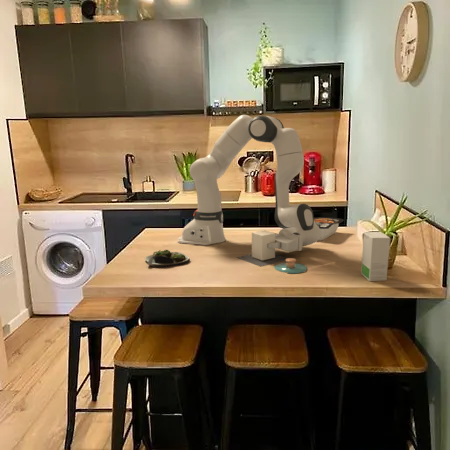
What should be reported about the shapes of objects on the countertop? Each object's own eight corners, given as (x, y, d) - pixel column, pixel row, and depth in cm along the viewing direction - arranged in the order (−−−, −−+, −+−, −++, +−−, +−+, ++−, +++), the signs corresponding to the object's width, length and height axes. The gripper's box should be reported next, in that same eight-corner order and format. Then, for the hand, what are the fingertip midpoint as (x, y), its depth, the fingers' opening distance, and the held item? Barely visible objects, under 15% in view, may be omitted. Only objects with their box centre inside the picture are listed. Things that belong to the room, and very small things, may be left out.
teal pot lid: (273, 273, 172) (273, 263, 172) (275, 263, 184) (275, 254, 183) (306, 274, 170) (306, 264, 169) (307, 264, 182) (307, 255, 181)
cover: (262, 260, 185) (262, 235, 183) (251, 256, 191) (251, 232, 189) (275, 257, 189) (275, 233, 187) (264, 254, 194) (264, 230, 192)
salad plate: (136, 258, 196) (136, 247, 195) (177, 252, 204) (176, 242, 203) (150, 271, 179) (149, 259, 178) (194, 264, 187) (193, 252, 186)
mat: (260, 267, 179) (260, 266, 179) (236, 258, 192) (236, 257, 192) (292, 260, 188) (292, 259, 188) (266, 251, 201) (266, 250, 201)
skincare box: (360, 274, 169) (362, 231, 166) (378, 273, 170) (380, 231, 166) (369, 281, 161) (371, 237, 158) (388, 280, 162) (390, 236, 158)
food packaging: (344, 218, 231) (328, 227, 212) (343, 233, 233) (328, 243, 214) (296, 214, 244) (278, 222, 225) (296, 228, 246) (277, 237, 227)
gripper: (271, 227, 204) (246, 231, 196) (304, 235, 187) (278, 241, 179) (271, 241, 205) (246, 246, 197) (304, 251, 188) (278, 257, 181)
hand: (261, 244), depth 188 cm, fingers closed on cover, 7 cm apart
